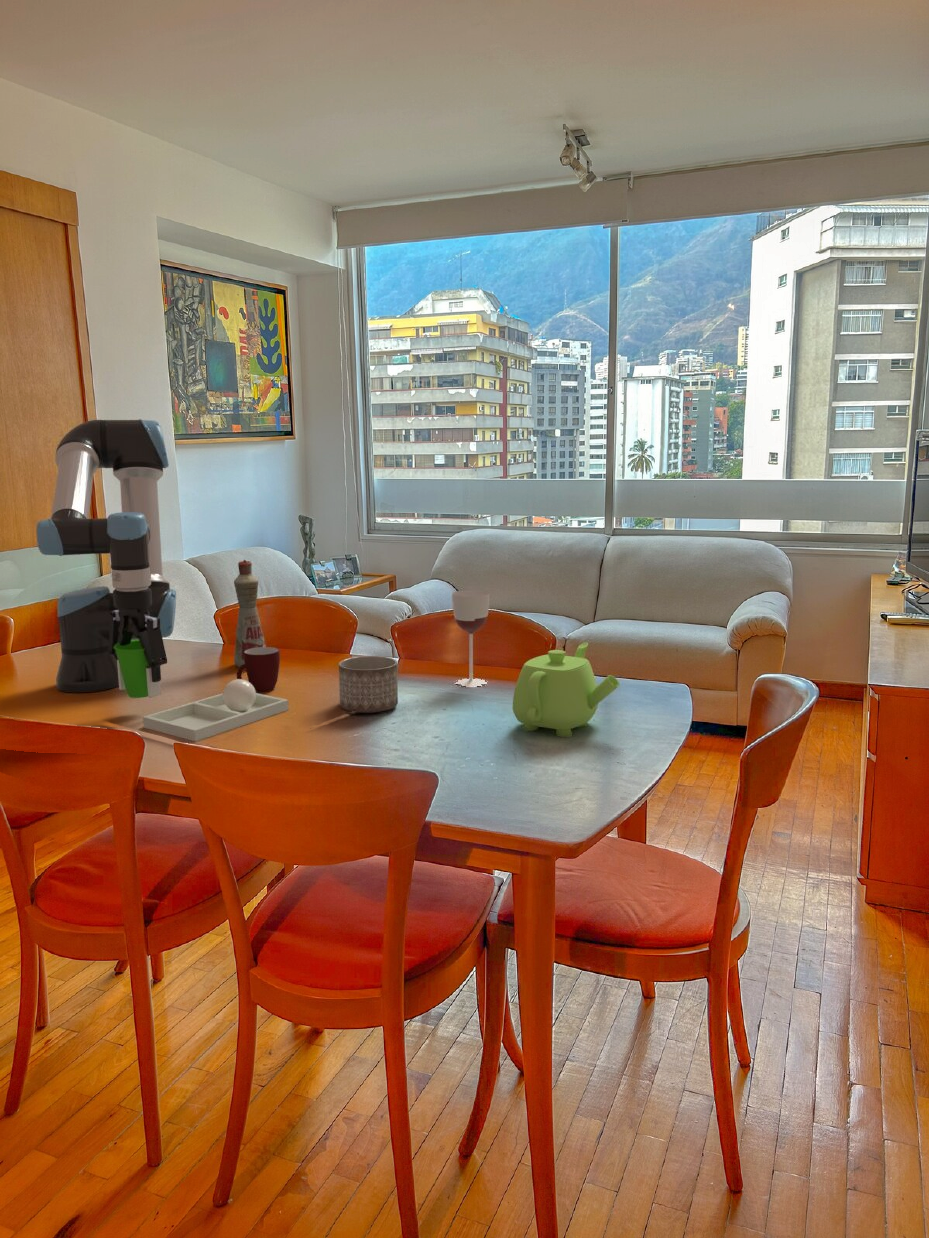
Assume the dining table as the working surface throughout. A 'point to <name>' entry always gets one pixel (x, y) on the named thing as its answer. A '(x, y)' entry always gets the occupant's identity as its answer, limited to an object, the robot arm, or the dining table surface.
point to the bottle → (247, 613)
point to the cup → (133, 668)
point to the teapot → (559, 692)
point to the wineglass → (470, 622)
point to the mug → (261, 667)
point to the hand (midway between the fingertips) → (140, 691)
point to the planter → (368, 684)
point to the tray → (211, 717)
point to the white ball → (239, 695)
